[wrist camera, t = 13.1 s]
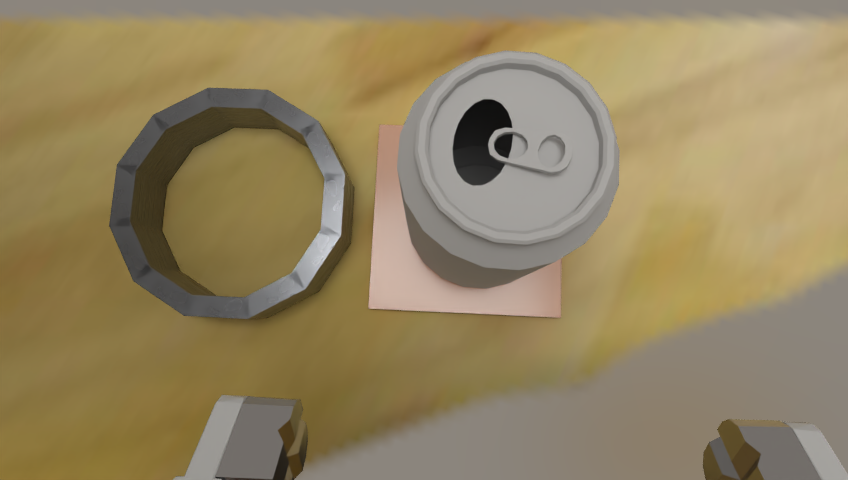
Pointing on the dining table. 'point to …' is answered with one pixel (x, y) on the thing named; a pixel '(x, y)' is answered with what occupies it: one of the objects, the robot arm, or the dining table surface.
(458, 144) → the can
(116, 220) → the ring
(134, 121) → the dining table surface
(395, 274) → the tile
